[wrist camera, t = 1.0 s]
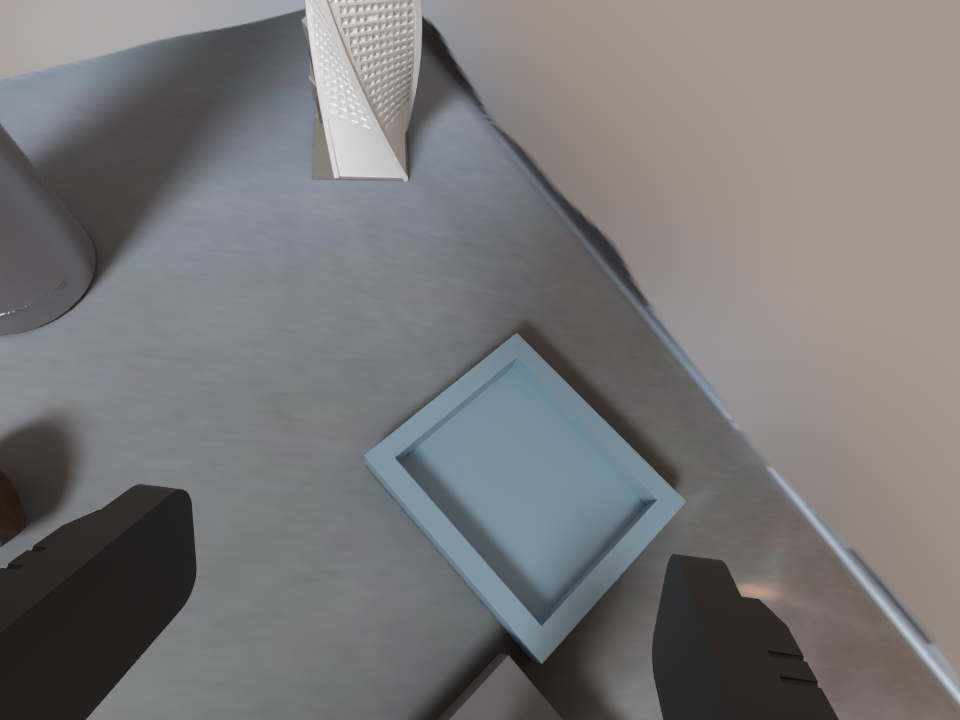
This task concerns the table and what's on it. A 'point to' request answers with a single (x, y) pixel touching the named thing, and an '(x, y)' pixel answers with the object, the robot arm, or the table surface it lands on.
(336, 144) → the skyscraper
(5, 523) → the bolt
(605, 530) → the tray
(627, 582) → the table surface
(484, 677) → the fuse holder
